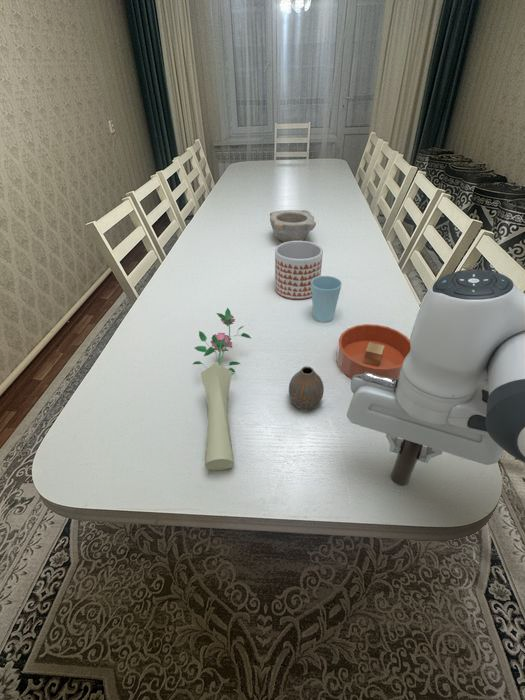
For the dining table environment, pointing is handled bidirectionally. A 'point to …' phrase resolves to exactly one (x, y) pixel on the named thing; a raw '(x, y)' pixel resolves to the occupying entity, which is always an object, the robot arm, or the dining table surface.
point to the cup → (325, 297)
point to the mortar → (291, 224)
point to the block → (373, 354)
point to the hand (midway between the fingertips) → (408, 453)
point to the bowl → (356, 344)
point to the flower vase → (218, 399)
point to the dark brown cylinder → (405, 462)
